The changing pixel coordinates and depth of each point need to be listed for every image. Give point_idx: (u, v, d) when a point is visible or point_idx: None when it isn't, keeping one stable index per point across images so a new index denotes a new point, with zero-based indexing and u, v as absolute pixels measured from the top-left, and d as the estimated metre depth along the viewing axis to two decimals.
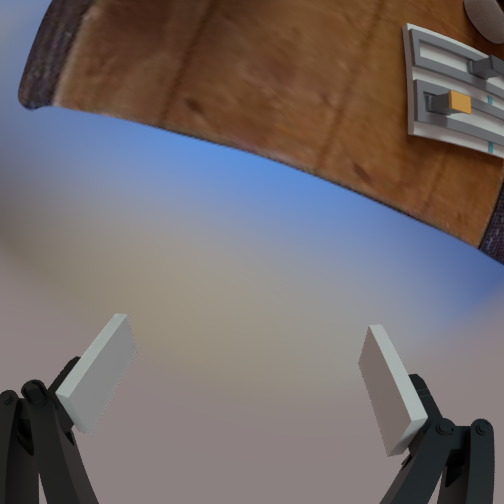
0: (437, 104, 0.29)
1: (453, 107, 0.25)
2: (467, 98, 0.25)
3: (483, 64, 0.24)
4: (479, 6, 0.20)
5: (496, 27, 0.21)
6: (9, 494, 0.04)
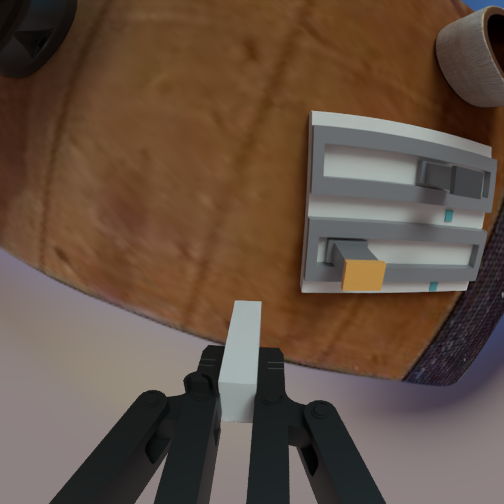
0: (335, 261, 0.26)
1: (345, 289, 0.22)
2: (380, 267, 0.21)
3: (441, 176, 0.21)
4: (458, 52, 0.17)
5: (483, 90, 0.18)
6: (100, 502, 0.05)
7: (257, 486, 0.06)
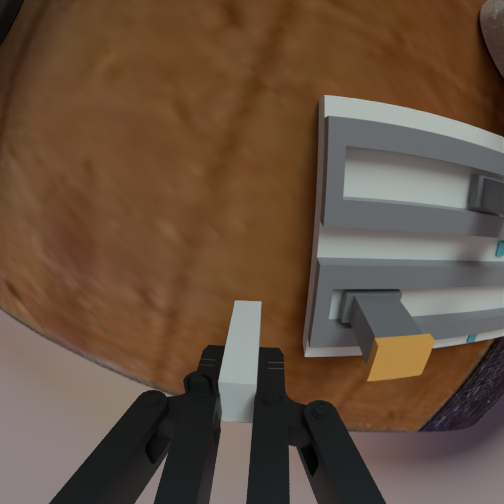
0: (356, 327, 0.17)
1: (372, 378, 0.13)
2: (425, 347, 0.12)
3: None
4: None
5: None
6: (100, 502, 0.05)
7: (257, 486, 0.06)
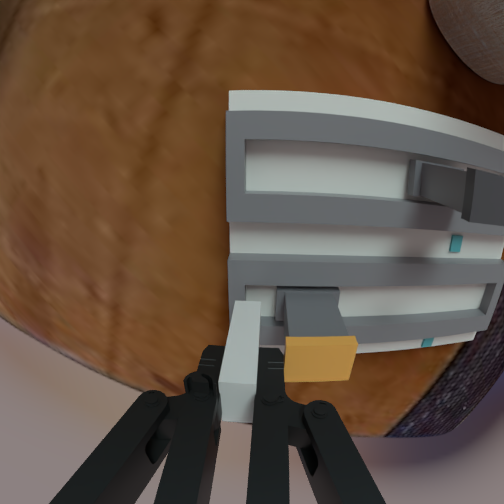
0: (284, 325, 0.17)
1: (288, 379, 0.13)
2: (347, 350, 0.13)
3: (446, 185, 0.12)
4: None
5: None
6: (100, 502, 0.05)
7: (257, 486, 0.06)
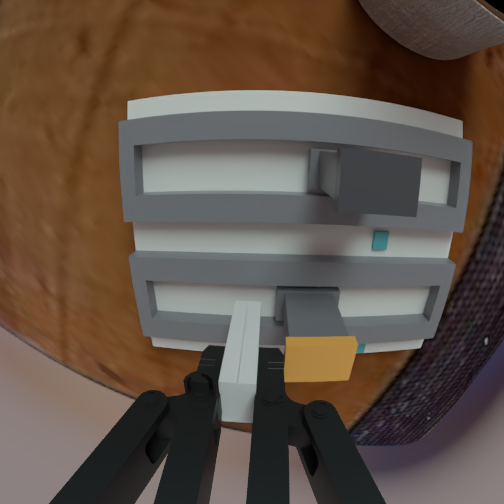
0: (284, 325, 0.17)
1: (288, 379, 0.13)
2: (347, 350, 0.13)
3: (330, 173, 0.12)
4: None
5: (428, 17, 0.09)
6: (100, 502, 0.05)
7: (257, 486, 0.06)
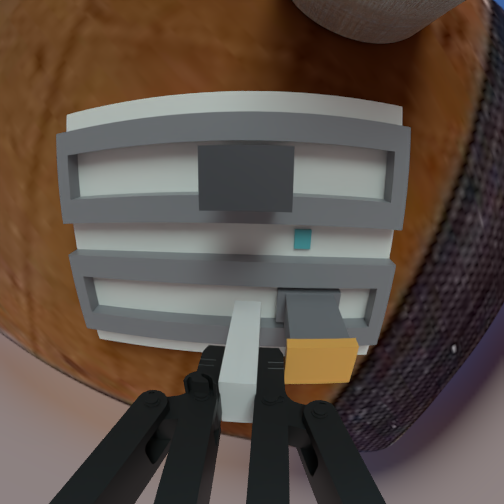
0: (285, 326, 0.17)
1: (289, 381, 0.13)
2: (348, 352, 0.13)
3: None
4: None
5: None
6: (100, 502, 0.05)
7: (257, 486, 0.06)
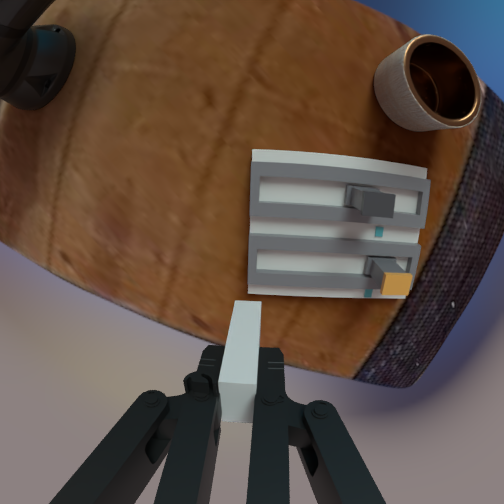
0: (374, 273, 0.33)
1: (384, 293, 0.29)
2: (408, 278, 0.28)
3: (358, 199, 0.29)
4: (387, 85, 0.25)
5: (410, 118, 0.26)
6: (100, 502, 0.05)
7: (257, 486, 0.06)
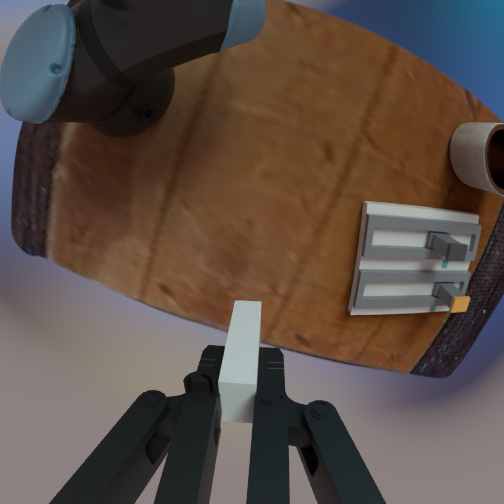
0: (442, 296, 0.39)
1: (452, 311, 0.36)
2: (467, 300, 0.35)
3: (441, 246, 0.35)
4: (465, 158, 0.32)
5: (477, 184, 0.32)
6: (100, 502, 0.05)
7: (257, 486, 0.06)
